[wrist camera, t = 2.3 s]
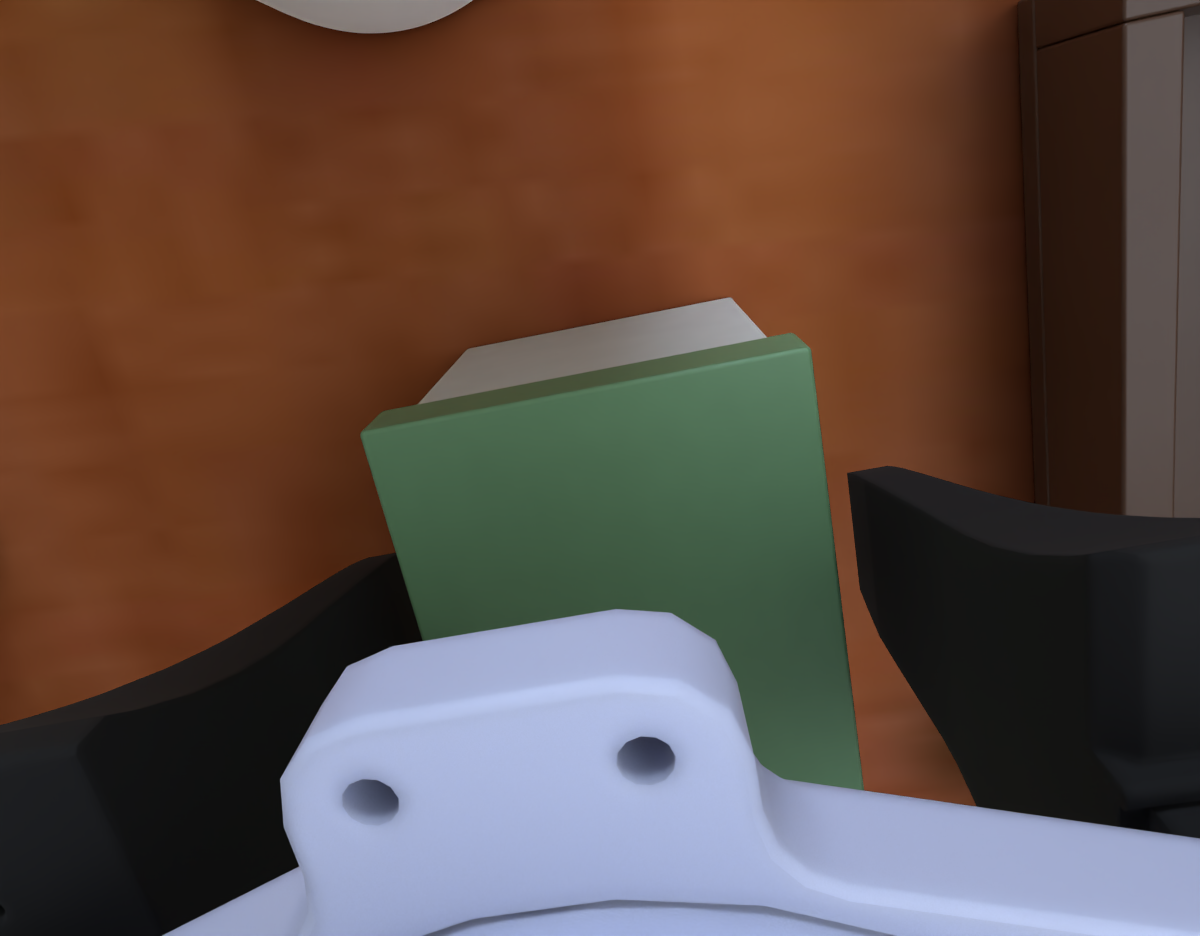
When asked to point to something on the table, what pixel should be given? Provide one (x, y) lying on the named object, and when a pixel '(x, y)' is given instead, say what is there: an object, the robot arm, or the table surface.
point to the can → (368, 13)
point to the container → (637, 506)
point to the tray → (1113, 252)
